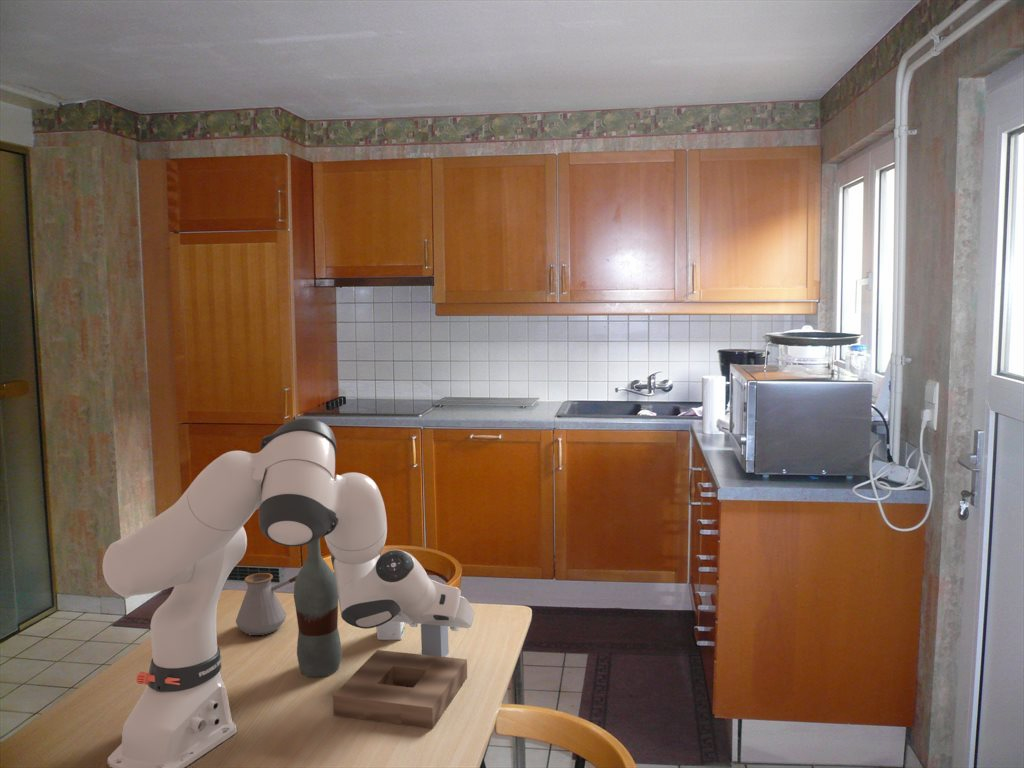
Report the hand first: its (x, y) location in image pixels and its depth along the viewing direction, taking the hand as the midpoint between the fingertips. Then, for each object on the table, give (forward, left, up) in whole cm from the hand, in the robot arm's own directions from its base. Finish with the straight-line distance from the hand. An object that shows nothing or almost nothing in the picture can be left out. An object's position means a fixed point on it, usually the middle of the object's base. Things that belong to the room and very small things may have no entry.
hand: (435, 625), depth 180 cm
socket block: (-19, 0, -7) cm, 20 cm away
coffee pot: (+5, +41, -7) cm, 42 cm away
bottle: (-12, +22, -7) cm, 26 cm away
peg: (-1, 0, -7) cm, 7 cm away
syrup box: (+7, +14, -7) cm, 17 cm away
